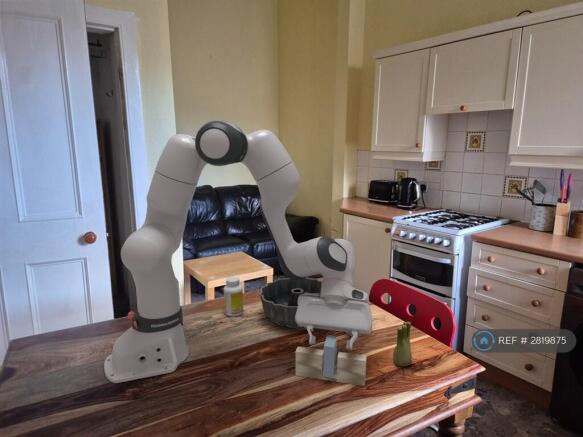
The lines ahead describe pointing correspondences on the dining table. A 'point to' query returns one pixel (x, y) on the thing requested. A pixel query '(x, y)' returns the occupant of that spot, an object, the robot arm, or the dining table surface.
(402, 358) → the fennel bulb
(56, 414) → the dining table surface
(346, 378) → the beech slot board
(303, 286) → the bundt pan
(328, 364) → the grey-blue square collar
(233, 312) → the supplement bottle
